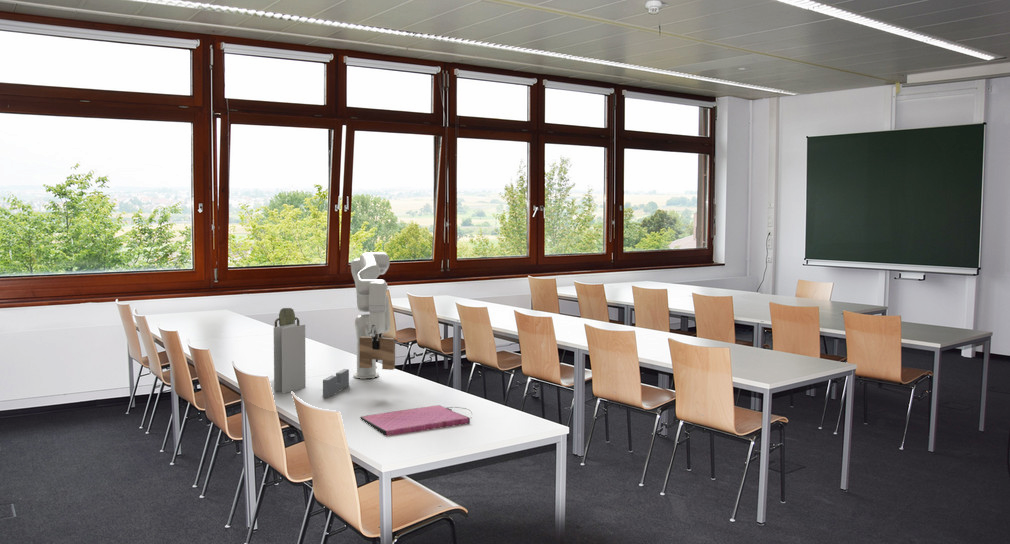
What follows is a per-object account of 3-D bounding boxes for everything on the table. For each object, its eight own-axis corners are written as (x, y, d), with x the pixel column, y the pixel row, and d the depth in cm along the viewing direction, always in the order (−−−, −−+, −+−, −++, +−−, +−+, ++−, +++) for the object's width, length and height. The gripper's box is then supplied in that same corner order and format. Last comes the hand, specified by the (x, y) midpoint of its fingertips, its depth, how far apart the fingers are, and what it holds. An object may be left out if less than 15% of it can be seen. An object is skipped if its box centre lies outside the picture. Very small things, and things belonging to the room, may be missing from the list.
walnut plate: (361, 366, 347) (361, 336, 345) (394, 368, 344) (395, 338, 343) (359, 367, 344) (359, 337, 343) (392, 369, 341) (393, 339, 340)
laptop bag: (385, 427, 280) (359, 411, 303) (385, 437, 281) (360, 421, 304) (479, 412, 301) (448, 399, 324) (479, 422, 301) (448, 408, 324)
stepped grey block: (343, 385, 360) (343, 369, 359) (348, 385, 359) (348, 369, 359) (322, 397, 336) (322, 379, 336) (328, 397, 336) (328, 380, 335)
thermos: (272, 378, 373) (271, 308, 370) (295, 375, 380) (295, 306, 377) (278, 381, 366) (277, 310, 363) (302, 378, 373) (301, 308, 370)
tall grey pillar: (297, 386, 357) (296, 323, 355) (305, 387, 355) (305, 324, 352) (274, 391, 345) (273, 327, 343) (282, 393, 342) (282, 328, 340)
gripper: (375, 305, 350) (375, 344, 352) (363, 310, 334) (362, 351, 336) (391, 306, 349) (391, 345, 350) (379, 311, 333) (378, 352, 334)
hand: (377, 348), depth 343 cm, fingers closed on walnut plate, 3 cm apart
